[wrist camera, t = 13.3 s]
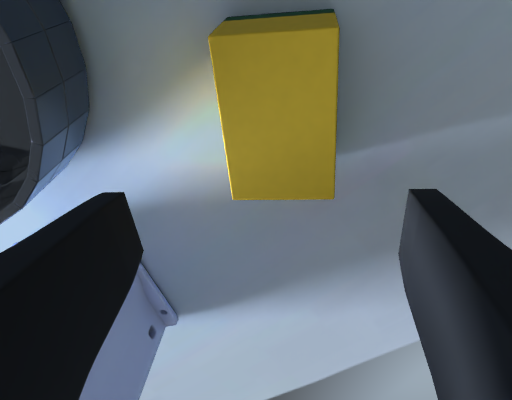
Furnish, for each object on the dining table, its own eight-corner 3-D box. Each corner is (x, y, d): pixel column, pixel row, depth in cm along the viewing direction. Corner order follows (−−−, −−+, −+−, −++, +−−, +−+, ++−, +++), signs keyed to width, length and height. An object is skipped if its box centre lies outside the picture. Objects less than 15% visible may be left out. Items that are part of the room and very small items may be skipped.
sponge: (226, 16, 16) (207, 35, 13) (334, 8, 15) (339, 26, 12) (243, 160, 20) (232, 200, 17) (330, 158, 19) (334, 199, 16)
